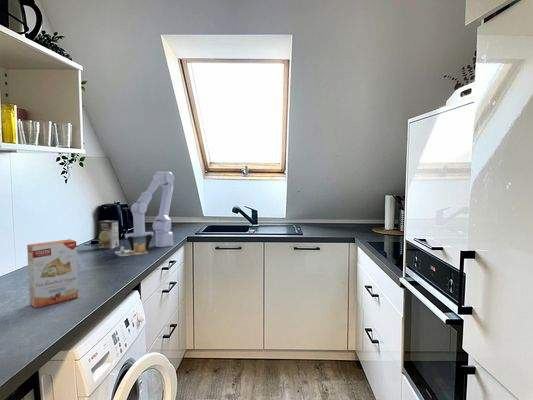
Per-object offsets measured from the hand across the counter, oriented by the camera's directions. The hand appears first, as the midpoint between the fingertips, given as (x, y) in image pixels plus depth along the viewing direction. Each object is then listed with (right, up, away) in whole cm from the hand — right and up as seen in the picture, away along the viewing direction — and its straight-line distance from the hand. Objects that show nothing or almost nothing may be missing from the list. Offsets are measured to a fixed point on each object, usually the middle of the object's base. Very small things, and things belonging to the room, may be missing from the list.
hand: (140, 249), depth 203 cm
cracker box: (-5, -9, -73) cm, 74 cm away
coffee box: (-22, -1, +12) cm, 25 cm away
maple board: (-4, -2, -2) cm, 5 cm away
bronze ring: (0, -1, 0) cm, 1 cm away
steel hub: (-8, -1, -5) cm, 9 cm away
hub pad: (-8, -1, -5) cm, 9 cm away
